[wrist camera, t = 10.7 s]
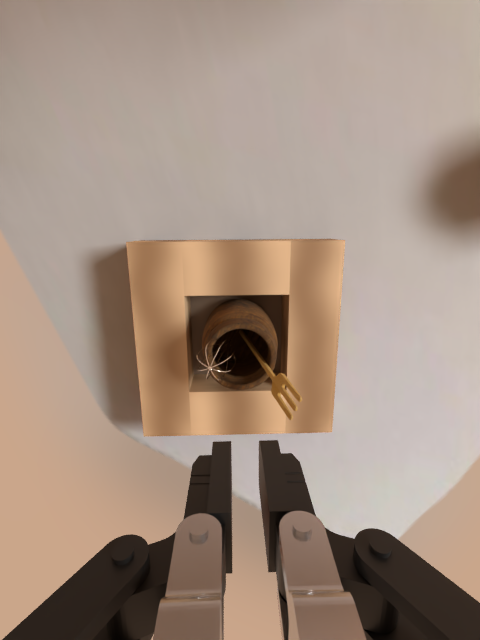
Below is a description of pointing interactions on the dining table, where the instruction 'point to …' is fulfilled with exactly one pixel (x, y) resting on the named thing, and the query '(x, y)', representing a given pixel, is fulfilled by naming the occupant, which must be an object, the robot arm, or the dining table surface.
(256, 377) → the utensil holder
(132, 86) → the dining table surface
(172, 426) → the oak socket block
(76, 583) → the robot arm
